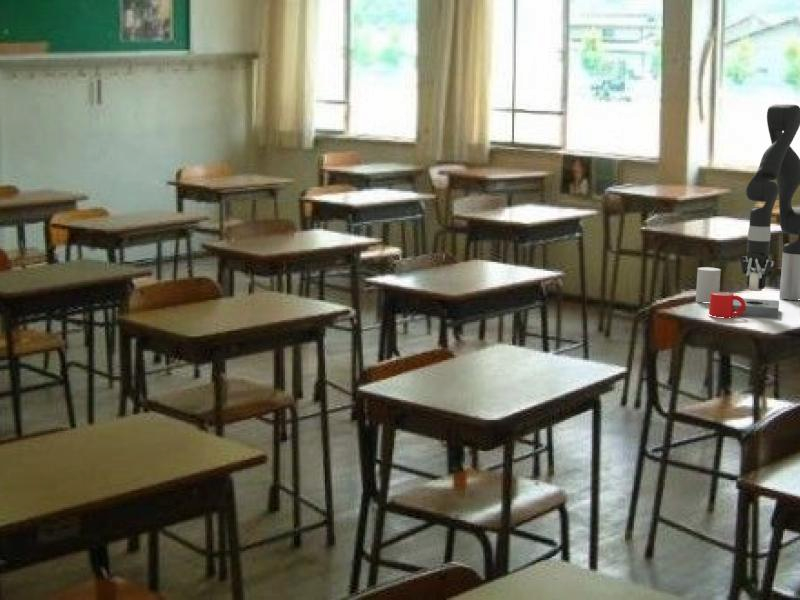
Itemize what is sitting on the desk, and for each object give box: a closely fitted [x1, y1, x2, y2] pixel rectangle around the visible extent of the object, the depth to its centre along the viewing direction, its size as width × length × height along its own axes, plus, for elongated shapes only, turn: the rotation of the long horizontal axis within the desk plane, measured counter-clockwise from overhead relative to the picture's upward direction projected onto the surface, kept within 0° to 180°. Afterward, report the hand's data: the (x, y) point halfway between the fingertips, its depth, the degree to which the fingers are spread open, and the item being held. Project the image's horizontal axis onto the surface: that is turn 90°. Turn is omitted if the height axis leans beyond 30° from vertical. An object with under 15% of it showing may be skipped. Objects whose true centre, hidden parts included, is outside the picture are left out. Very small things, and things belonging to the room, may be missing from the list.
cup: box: [695, 266, 722, 303], centre depth 475 cm, size 8×8×12 cm
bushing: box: [748, 271, 763, 292], centre depth 453 cm, size 4×4×6 cm
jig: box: [733, 297, 780, 319], centre depth 455 cm, size 16×16×4 cm
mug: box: [708, 291, 746, 319], centre depth 447 cm, size 8×12×8 cm, turn 73°
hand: (755, 287), depth 454 cm, fingers closed on bushing, 4 cm apart
